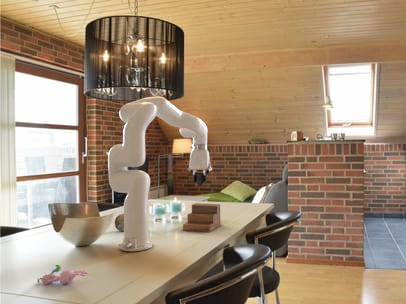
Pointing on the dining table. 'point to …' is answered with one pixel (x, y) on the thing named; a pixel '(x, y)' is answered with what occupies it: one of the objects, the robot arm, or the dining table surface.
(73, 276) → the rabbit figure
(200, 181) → the cylinder
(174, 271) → the dining table surface
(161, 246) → the dining table surface
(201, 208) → the step rack
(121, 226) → the tin
